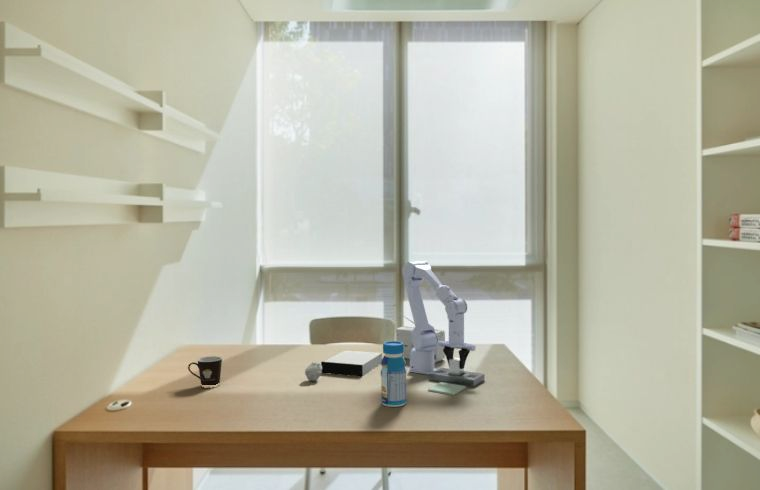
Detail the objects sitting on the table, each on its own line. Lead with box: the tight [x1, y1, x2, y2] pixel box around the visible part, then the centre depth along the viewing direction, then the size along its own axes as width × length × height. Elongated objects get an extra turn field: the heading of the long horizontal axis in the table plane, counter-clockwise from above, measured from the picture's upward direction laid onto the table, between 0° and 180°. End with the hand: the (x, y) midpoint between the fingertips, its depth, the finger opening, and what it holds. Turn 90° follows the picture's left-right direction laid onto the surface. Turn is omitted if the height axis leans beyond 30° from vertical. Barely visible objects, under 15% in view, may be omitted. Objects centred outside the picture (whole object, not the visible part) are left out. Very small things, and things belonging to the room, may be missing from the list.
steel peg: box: [448, 356, 465, 376], centre depth 209 cm, size 4×4×7 cm
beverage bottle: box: [380, 340, 407, 408], centre depth 183 cm, size 8×8×20 cm
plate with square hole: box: [428, 367, 485, 388], centre depth 209 cm, size 18×10×3 cm, turn 57°
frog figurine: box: [304, 361, 322, 382], centre depth 211 cm, size 6×7×7 cm
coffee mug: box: [187, 355, 223, 385], centre depth 206 cm, size 12×9×10 cm
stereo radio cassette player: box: [395, 312, 446, 364], centre depth 242 cm, size 21×8×20 cm, turn 58°
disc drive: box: [320, 350, 383, 378], centre depth 229 cm, size 18×22×5 cm
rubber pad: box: [427, 382, 467, 396], centre depth 198 cm, size 10×10×1 cm
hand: (456, 367), depth 209 cm, fingers closed on steel peg, 4 cm apart
